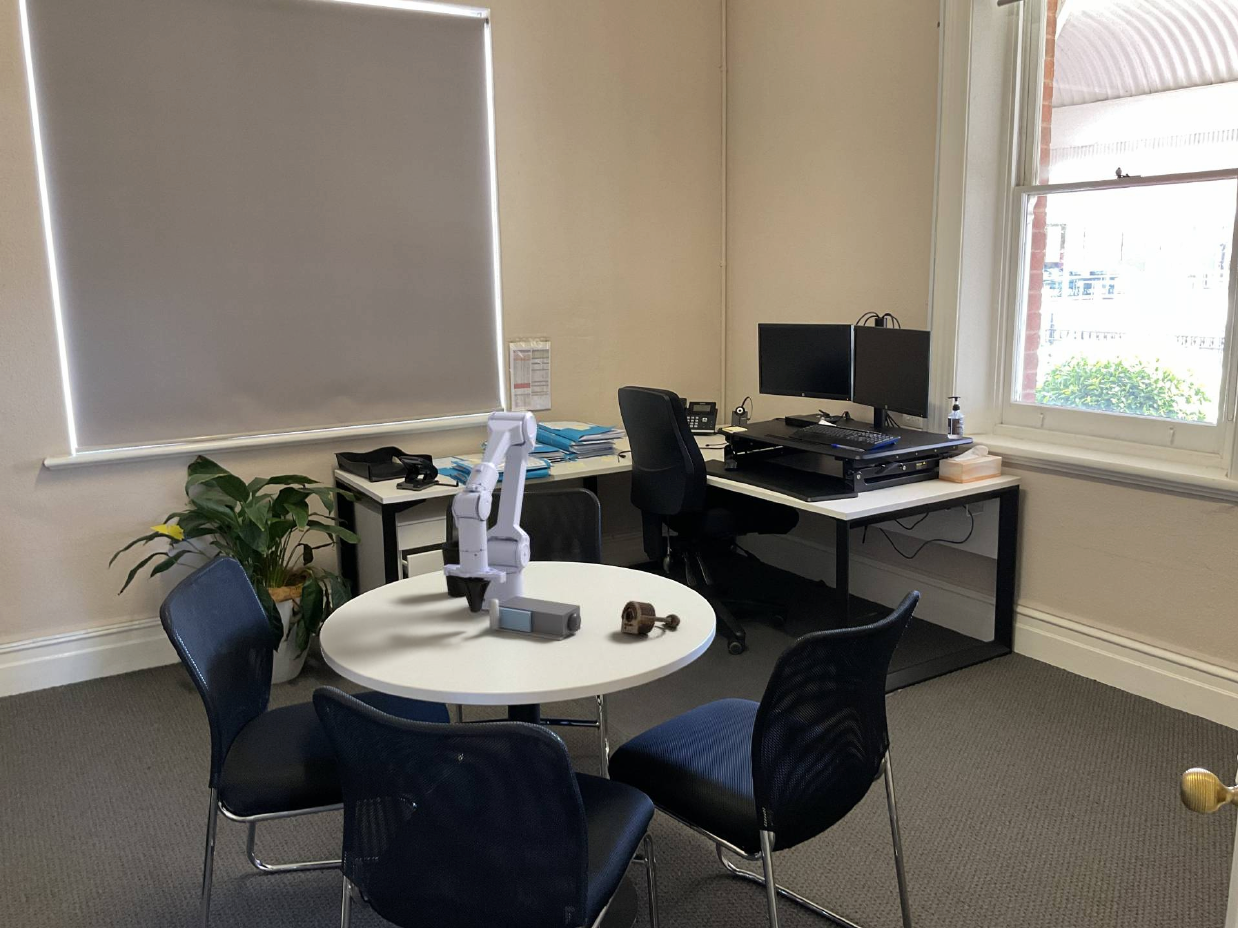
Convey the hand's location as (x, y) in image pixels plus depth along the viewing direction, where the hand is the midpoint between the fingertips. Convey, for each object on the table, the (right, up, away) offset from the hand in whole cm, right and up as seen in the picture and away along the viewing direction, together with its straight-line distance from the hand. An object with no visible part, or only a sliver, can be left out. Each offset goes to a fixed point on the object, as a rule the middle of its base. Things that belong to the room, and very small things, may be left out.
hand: (475, 611), depth 207 cm
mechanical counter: (+37, -4, -2) cm, 37 cm away
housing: (+13, -4, +1) cm, 14 cm away
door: (+7, -4, -2) cm, 9 cm away
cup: (-7, 0, +26) cm, 27 cm away
